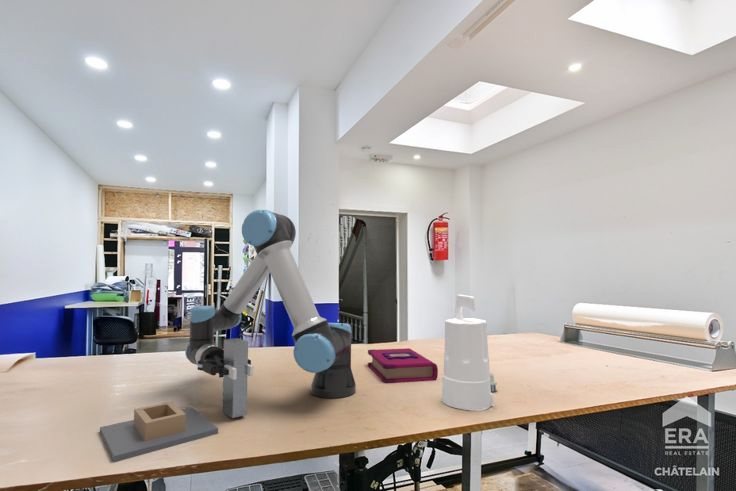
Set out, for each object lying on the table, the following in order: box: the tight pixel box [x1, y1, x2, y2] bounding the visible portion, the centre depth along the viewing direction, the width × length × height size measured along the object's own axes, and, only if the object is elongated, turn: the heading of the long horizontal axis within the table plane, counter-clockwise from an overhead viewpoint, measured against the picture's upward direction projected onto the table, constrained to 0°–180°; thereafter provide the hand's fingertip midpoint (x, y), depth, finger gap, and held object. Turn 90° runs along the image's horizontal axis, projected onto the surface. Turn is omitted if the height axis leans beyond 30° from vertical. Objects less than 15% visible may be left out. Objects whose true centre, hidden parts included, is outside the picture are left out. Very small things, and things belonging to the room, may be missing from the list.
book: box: [367, 347, 439, 384], centre depth 156 cm, size 21×28×8 cm
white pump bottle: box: [441, 293, 496, 412], centre depth 122 cm, size 15×15×33 cm
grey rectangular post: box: [221, 337, 249, 419], centre depth 108 cm, size 4×7×20 cm, turn 42°
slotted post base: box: [99, 401, 219, 463], centre depth 96 cm, size 22×20×5 cm
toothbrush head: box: [490, 372, 498, 392], centre depth 143 cm, size 5×7×25 cm
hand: (243, 372), depth 105 cm, fingers closed on grey rectangular post, 4 cm apart
